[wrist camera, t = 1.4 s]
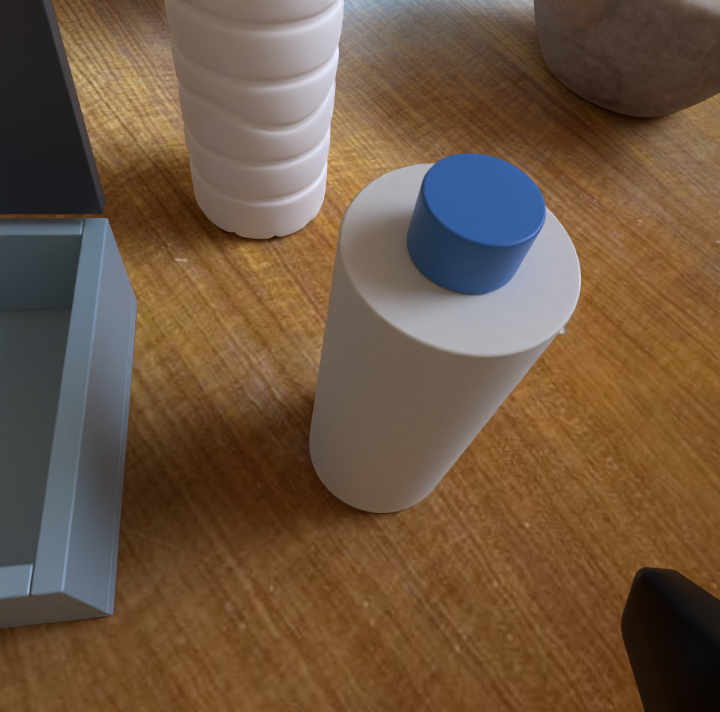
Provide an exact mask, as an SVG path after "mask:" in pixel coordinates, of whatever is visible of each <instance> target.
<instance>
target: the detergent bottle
mask: <svg viewBox="0 0 720 712" xmlns="http://www.w3.org/2000/svg"><path fill="white" fill-rule="evenodd" d="M580 287H581V272H580V266H579V260H578V257H577V254H576V250H575V248H574V245H573V243H572V241H571V239H570V237H569V235H568V234H567V232H566V231H565V229H564V227H563V226H562V224H561V223H560V222H559V221H558V220H557V218H556V217H555V216H554V215H553V214H552V213H551V212H550V211H549V210H548V209H547V208H546V207H545V202H544V198H543V196H542V194H541V192H540V190H539V188H538V187H537V185H536V184H535V183H534V182H533V181H532V180H531V179H530V178H529V177H528V176H527V175H526V174H525V173H524V172H523V171H521V170H520V169H518V168H517V167H515V166H513V165H512V164H510V163H508V162H506V161H503V160H501V159H498V158H495V157H492V156H488V155H483V154H473V153H465V154H456V155H452V156H449V157H446V158H443V159H442V160H440V161H438V162H437V163H430V164H419V165H411V166H407V167H403V168H399V169H396V170H394V171H391V172H388V173H386V174H384V175H382V176H380V177H378V178H376V179H375V180H373V181H372V182H371V183H369V184H368V185H366V186H365V187H364V188H363V189H362V190H361V191H360V192H359V193H358V194H357V195H356V196H355V198H354V199H353V200H352V202H351V203H350V204H349V206H348V208H347V210H346V212H345V214H344V216H343V219H342V222H341V226H340V230H339V237H338V244H337V251H336V258H335V265H334V271H333V278H332V285H331V292H330V299H329V306H328V312H327V319H326V326H325V333H324V340H323V347H322V353H321V360H320V367H319V374H318V381H317V388H316V394H315V401H314V408H313V415H312V422H311V429H310V436H309V450H310V457H311V460H312V464H313V467H314V469H315V471H316V473H317V475H318V477H319V478H320V480H321V481H322V483H323V484H324V485H325V486H326V488H327V489H328V490H329V491H330V492H331V493H332V494H333V495H334V496H336V497H337V498H338V499H340V500H341V501H343V502H344V503H346V504H348V505H350V506H352V507H355V508H357V509H360V510H364V511H368V512H375V513H391V512H397V511H401V510H404V509H407V508H409V507H411V506H414V505H416V504H417V503H419V502H420V501H422V500H423V499H424V498H425V497H426V496H428V495H429V494H430V493H431V491H432V490H433V489H434V488H435V487H436V485H437V484H438V483H439V482H440V480H441V479H442V478H443V477H444V475H445V474H446V473H447V472H448V470H449V469H450V468H451V467H452V465H453V464H454V463H455V462H456V460H457V459H458V458H459V457H460V455H461V454H462V453H463V452H464V450H465V449H466V448H467V447H468V445H469V444H470V443H471V442H472V440H473V439H474V438H475V437H476V435H477V434H478V433H479V432H480V430H481V429H482V428H483V427H484V425H485V424H486V423H487V422H488V420H489V419H490V418H491V417H492V415H493V414H494V413H495V412H496V410H497V409H498V408H499V407H500V405H501V404H502V403H503V402H504V400H505V399H506V398H507V397H508V395H509V394H510V393H511V392H512V390H513V389H514V388H515V387H516V385H517V384H518V383H519V382H520V381H521V379H522V378H523V377H524V376H525V374H526V373H527V372H528V371H529V369H530V368H531V367H532V366H533V364H534V363H535V362H536V361H537V359H538V358H539V357H540V356H541V354H542V353H543V352H544V351H545V349H546V348H547V347H548V346H549V344H550V343H551V342H552V341H553V339H554V338H555V337H556V336H557V334H558V333H559V332H560V331H561V329H562V328H563V327H564V326H565V324H566V323H567V322H568V320H569V319H570V317H571V315H572V313H573V312H574V310H575V307H576V304H577V301H578V298H579V293H580Z"/></svg>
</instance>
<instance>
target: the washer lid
mask: <svg viewBox="0 0 720 712" xmlns="http://www.w3.org/2000/svg"><path fill="white" fill-rule="evenodd" d="M105 201H106V200H105V196H104V193H103V189H102V185H101V182H100V178H99V174H98V171H97V167H96V163H95V159H94V156H93V152H92V148H91V145H90V141H89V137H88V134H87V130H86V126H85V122H84V119H83V115H82V111H81V108H80V104H79V100H78V96H77V93H76V89H75V85H74V82H73V78H72V74H71V71H70V67H69V63H68V59H67V56H66V52H65V48H64V45H63V41H62V37H61V34H60V30H59V26H58V22H57V19H56V15H55V11H54V8H53V4H52V0H0V214H103V210H104V206H105Z"/></svg>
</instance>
